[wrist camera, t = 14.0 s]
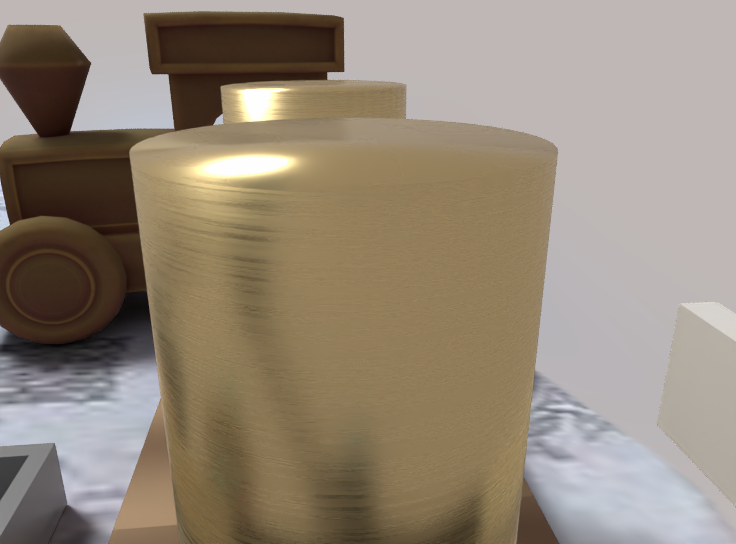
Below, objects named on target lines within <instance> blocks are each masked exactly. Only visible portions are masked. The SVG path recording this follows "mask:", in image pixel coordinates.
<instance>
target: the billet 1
mask: <svg viewBox="0 0 736 544" xmlns="http://www.w3.org/2000/svg"><path fill="white" fill-rule="evenodd" d="M221 98H222V111H223V123H224V124H230V123H240V122H252V121H266V120H283V119H308V118H389V119H406V84H402V83H395V82H383V81H359V80H294V81H266V82H249V83H238V84H229V85H224V86H221Z"/></svg>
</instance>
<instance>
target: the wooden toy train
mask: <svg viewBox="0 0 736 544" xmlns="http://www.w3.org/2000/svg"><path fill="white" fill-rule="evenodd" d="M144 22H145V31H146V39H147V48H148V57H149V66H150V70H151V73H152V74H168V75H169V84H170V93H171V102H172V110H173V119H174V128H175V129H116V130H92V131H70V130H71V127H72V123H73V120H74V117H75V114H76V110H77V107H78V104H79V101H80V98H81V94H82V91H83V88H84V85H85V81H86V78H87V75H88V72H89V68H90V65H91V62H90V61H89V60H88V59H87V58H86V56H85V55H84V54H83V53H82V52H81V50H80V49H79V48H78V47H77V46H76V44H75V43H74V42H73V41H72V39H70V37H69V36H68V34H67V33H66V32H65V31H64V30H63V28H62V27H61V26H57V25H8V26H7V28H6V31H5V33H4V35H3V37H2V40H1V42H0V79H1V81H2V82H3V84H4V85H5V87H6V88H7V90H8V91H9V93H10V94H11V95H12V97H13V98H14V100H15V101H16V103H17V104H18V106H19V107H20V109H21V110H22V112H23V113H24V114H25V116H26V118H27V119H28V120H29V122H30V123H31V125H32V126H33V128H34V129H35V131H36V132H37V134H30V135H18V136H13V137H12V138H10V139H8V140H7V141H5V142H4V143H3V144H2V146H1V147H0V179H1V185H2V190H3V195H4V200H5V205H6V210H7V214H8V218H9V222H10V226H8V227H6V228H4V229H3V230H1V231H0V326H1V327H3V328H5V329H6V330H8V331H10V332H11V333H13V334H14V335H16V336H18V337H19V338H22V339H26V340H29V341H33V342H37V343H40V344H67V343H71V342H75V341H79V340H83V339H87V338H89V337H90V336H92V335H94V334H95V333H97V332H99V331H101V330H102V329H104V328H105V327H106V326H107V325H108V324H109V323H110V322H111V321H112V320H113V319H114V317H115V316H116V315H117V314H118V313H119V311H120V308H121V306H122V304H123V301H124V299H125V296H126V293H128V292H139V291H147V286H146V278H145V270H144V263H143V255H142V247H141V239H140V232H139V224H138V216H137V208H136V201H135V193H134V185H133V178H132V170H131V162H130V154H129V152H130V150H131V148H132V147H133V146H134V145H136V144H137V143H139V142H141V141H143V140H146V139H149V138H152V137H155V136H158V135H162V134H166V133H170V132H175V131H180V130H185V129H191V128H198V127H204V126H212V125H213V124H214V122H215V120H216V118H217V117H219V116H220V115H221V114H223V111H222V98H221V86H224V85H229V84H238V83H249V82H266V81H294V80H327V72H344V18H342V17H338V16H332V15H317V14H300V13H284V12H209V11H207V12H206V11H199V12H170V13H144Z"/></svg>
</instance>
